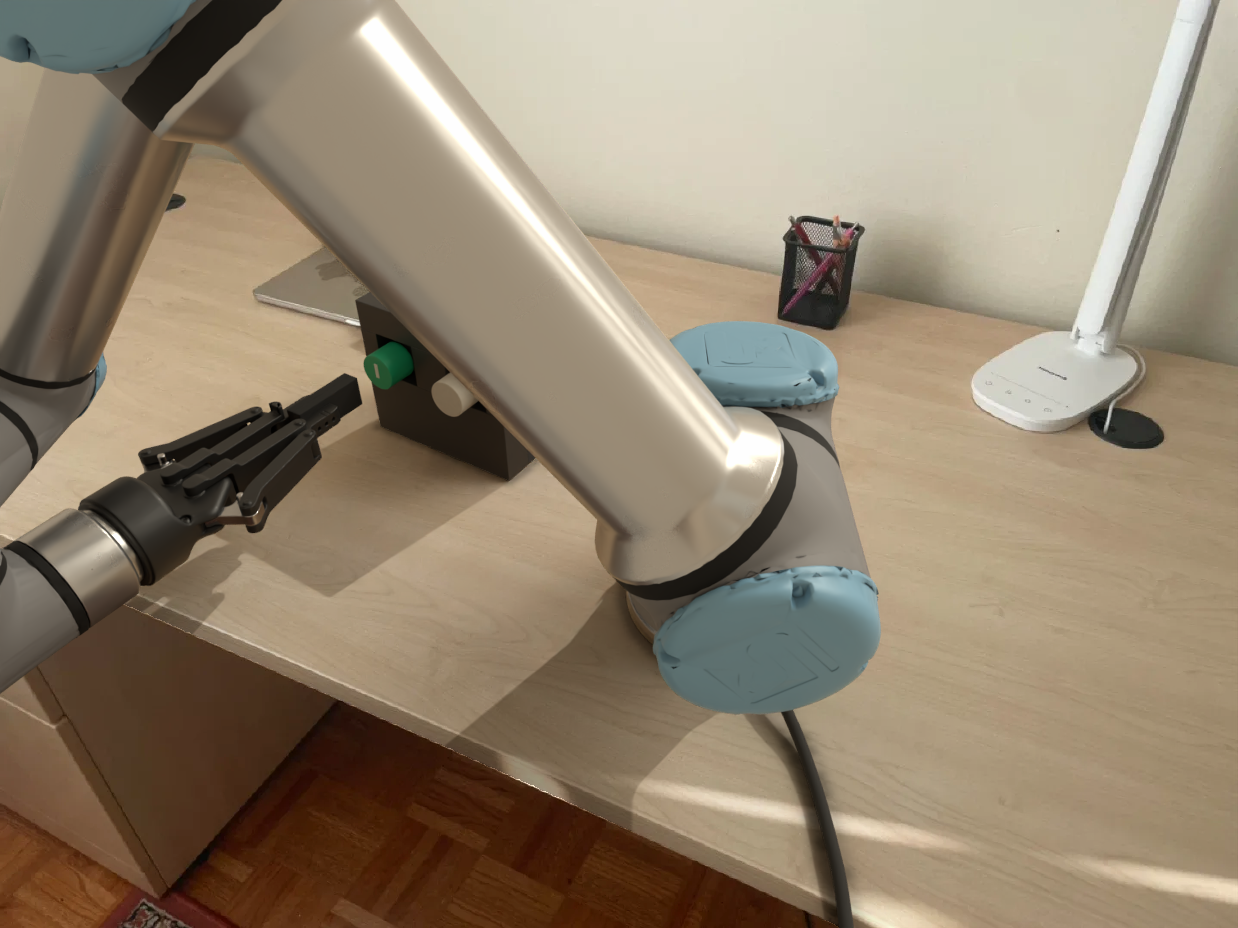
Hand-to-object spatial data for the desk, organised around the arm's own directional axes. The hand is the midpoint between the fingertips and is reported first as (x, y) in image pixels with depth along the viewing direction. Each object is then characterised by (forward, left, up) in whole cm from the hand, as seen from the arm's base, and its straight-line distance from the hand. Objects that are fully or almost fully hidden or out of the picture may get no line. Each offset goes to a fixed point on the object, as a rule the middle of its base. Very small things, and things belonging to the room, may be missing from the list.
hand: (353, 388), depth 79 cm
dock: (+3, -10, -9) cm, 14 cm away
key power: (+3, -3, -2) cm, 5 cm away
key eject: (-3, -9, -2) cm, 9 cm away
